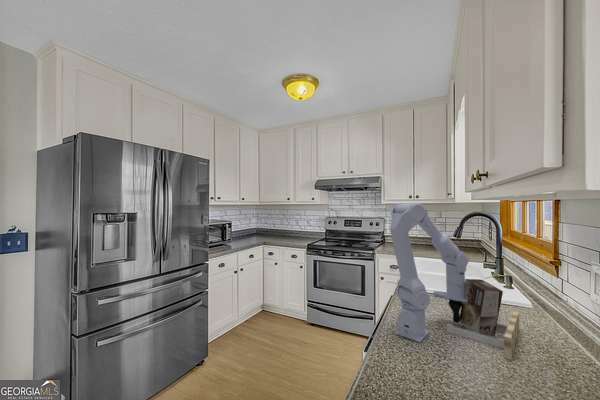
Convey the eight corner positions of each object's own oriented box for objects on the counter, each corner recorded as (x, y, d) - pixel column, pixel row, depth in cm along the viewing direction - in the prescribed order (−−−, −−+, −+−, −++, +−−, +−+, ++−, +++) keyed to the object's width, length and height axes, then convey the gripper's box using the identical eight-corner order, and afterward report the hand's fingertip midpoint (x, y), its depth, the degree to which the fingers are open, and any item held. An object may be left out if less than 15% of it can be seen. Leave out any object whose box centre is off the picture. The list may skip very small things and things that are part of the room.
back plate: (511, 360, 71) (510, 338, 71) (504, 358, 72) (504, 336, 72) (519, 329, 88) (518, 312, 88) (513, 328, 89) (513, 311, 89)
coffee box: (495, 338, 82) (504, 291, 80) (476, 337, 82) (485, 290, 80) (475, 321, 92) (482, 278, 90) (457, 320, 91) (464, 278, 89)
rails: (506, 350, 76) (506, 341, 76) (446, 331, 87) (446, 324, 87) (512, 333, 85) (511, 326, 85) (457, 319, 96) (457, 312, 97)
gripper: (482, 284, 89) (483, 324, 89) (436, 277, 99) (437, 312, 99) (478, 290, 84) (479, 331, 84) (430, 281, 94) (431, 318, 94)
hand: (456, 321), depth 91 cm, fingers closed, pressing on coffee box
